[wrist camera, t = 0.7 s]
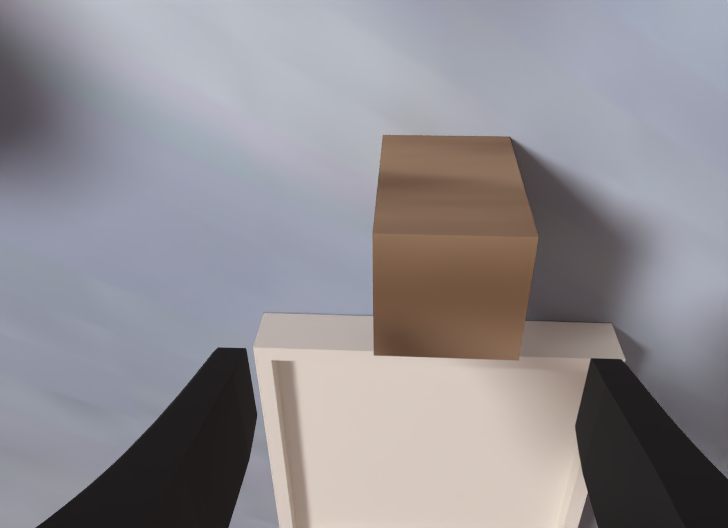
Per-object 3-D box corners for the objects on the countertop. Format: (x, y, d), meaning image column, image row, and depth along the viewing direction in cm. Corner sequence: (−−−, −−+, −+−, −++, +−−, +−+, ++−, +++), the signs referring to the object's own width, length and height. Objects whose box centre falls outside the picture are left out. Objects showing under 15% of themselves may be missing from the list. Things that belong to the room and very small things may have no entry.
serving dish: (557, 531, 32) (565, 570, 30) (290, 518, 33) (283, 555, 31) (611, 323, 24) (625, 360, 23) (263, 312, 25) (253, 347, 24)
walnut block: (496, 243, 23) (518, 360, 18) (382, 240, 23) (373, 355, 18) (509, 136, 21) (538, 237, 16) (383, 134, 21) (373, 233, 16)
